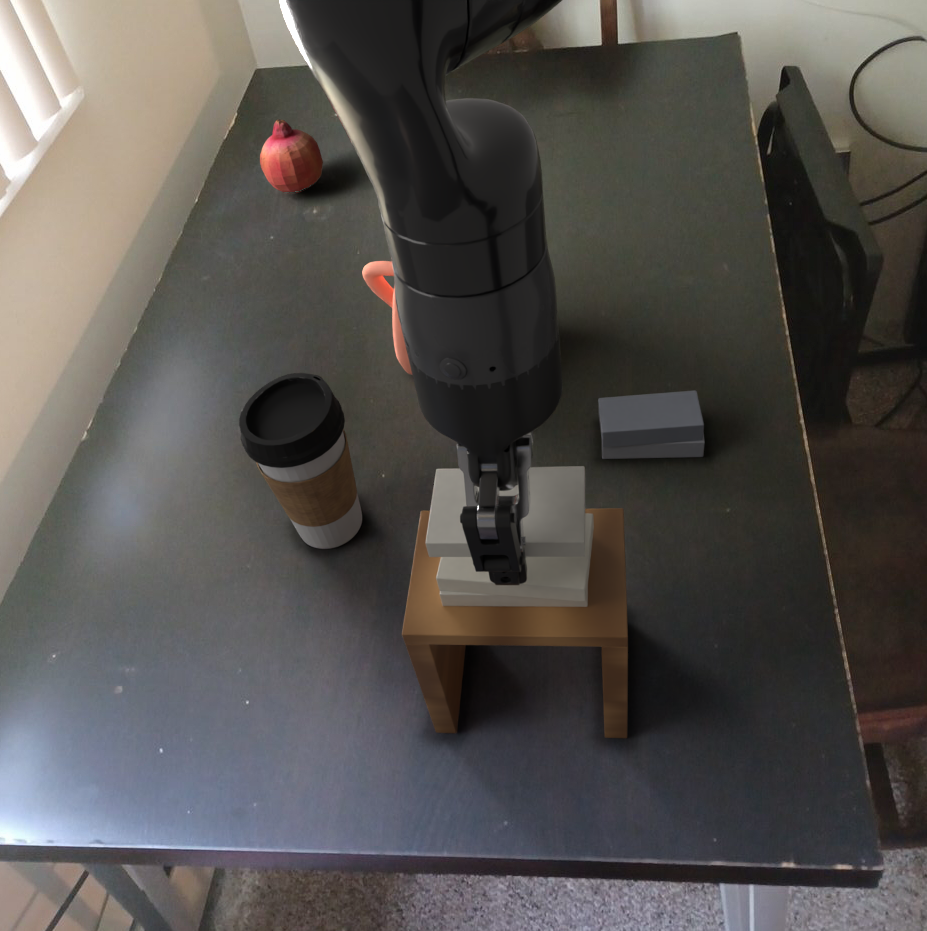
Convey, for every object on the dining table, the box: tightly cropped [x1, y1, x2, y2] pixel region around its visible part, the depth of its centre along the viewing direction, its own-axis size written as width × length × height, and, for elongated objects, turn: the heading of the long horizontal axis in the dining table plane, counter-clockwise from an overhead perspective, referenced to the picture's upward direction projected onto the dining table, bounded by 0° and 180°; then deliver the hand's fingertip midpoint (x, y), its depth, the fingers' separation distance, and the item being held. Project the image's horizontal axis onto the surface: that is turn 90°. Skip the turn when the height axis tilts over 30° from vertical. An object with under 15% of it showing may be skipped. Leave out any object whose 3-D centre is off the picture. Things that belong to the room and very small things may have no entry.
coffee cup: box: [238, 372, 363, 550], centre depth 76 cm, size 8×8×15 cm
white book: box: [426, 465, 586, 557], centre depth 54 cm, size 9×6×1 cm, turn 85°
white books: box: [436, 513, 594, 607], centre depth 58 cm, size 10×7×3 cm
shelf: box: [401, 507, 629, 739], centre depth 64 cm, size 14×10×14 cm
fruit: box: [259, 119, 324, 194], centre depth 118 cm, size 8×8×10 cm
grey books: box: [597, 390, 706, 460], centre depth 82 cm, size 9×5×4 cm, turn 85°
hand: (512, 535), depth 56 cm, fingers closed on white book, 5 cm apart
